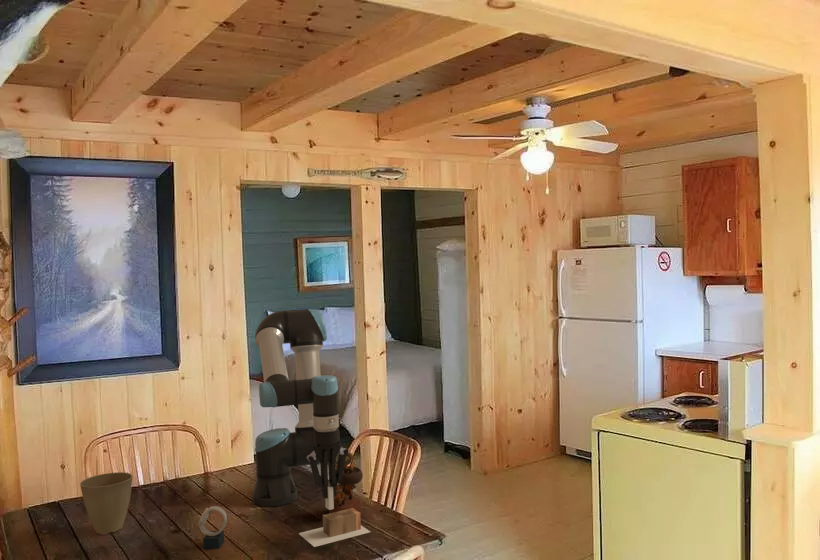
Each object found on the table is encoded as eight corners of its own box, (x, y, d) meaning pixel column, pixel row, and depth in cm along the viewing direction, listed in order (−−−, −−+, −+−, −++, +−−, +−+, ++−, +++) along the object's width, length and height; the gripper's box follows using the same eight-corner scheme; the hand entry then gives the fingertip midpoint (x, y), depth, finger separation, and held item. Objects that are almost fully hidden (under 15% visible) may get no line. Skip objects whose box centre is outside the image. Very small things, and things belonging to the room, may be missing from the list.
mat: (298, 534, 203) (298, 533, 203) (352, 520, 212) (352, 519, 212) (314, 547, 192) (314, 546, 192) (370, 532, 202) (370, 531, 202)
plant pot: (145, 523, 216) (142, 473, 216) (110, 541, 202) (107, 488, 202) (107, 519, 221) (105, 470, 221) (71, 537, 207) (68, 485, 207)
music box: (355, 524, 209) (352, 459, 208) (322, 522, 212) (319, 458, 211) (371, 506, 223) (368, 446, 223) (339, 504, 226) (337, 445, 226)
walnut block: (322, 515, 203) (352, 507, 208) (323, 531, 203) (353, 524, 208) (329, 520, 199) (360, 512, 204) (330, 537, 199) (360, 529, 204)
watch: (203, 541, 200) (201, 504, 200) (230, 540, 200) (228, 503, 200) (196, 549, 194) (195, 511, 194) (225, 548, 194) (223, 510, 194)
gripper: (310, 434, 194) (314, 516, 195) (351, 427, 201) (355, 507, 201) (300, 429, 201) (304, 509, 201) (341, 423, 207) (344, 499, 208)
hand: (329, 508), depth 201 cm, fingers closed
